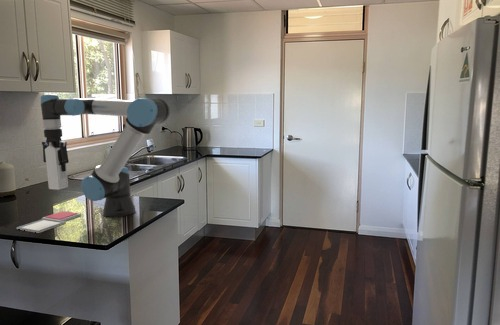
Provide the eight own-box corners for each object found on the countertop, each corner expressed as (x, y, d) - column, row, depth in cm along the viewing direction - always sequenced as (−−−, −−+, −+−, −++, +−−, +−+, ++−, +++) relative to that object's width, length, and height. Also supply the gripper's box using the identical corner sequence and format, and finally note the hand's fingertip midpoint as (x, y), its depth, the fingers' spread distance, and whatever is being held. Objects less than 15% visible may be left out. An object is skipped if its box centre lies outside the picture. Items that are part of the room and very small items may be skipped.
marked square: (65, 223, 186) (65, 221, 186) (38, 233, 173) (38, 231, 173) (44, 220, 192) (44, 218, 192) (16, 229, 179) (16, 227, 179)
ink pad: (81, 215, 197) (80, 212, 197) (60, 223, 187) (59, 219, 186) (63, 213, 202) (63, 210, 202) (42, 220, 192) (41, 217, 191)
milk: (48, 189, 190) (43, 142, 187) (58, 186, 196) (53, 140, 192) (59, 189, 188) (54, 142, 185) (68, 186, 194) (63, 140, 191)
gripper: (74, 128, 187) (79, 177, 191) (45, 127, 195) (50, 175, 199) (60, 129, 180) (65, 180, 184) (31, 129, 188) (36, 178, 192)
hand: (57, 177), depth 191 cm, fingers closed on milk, 6 cm apart
